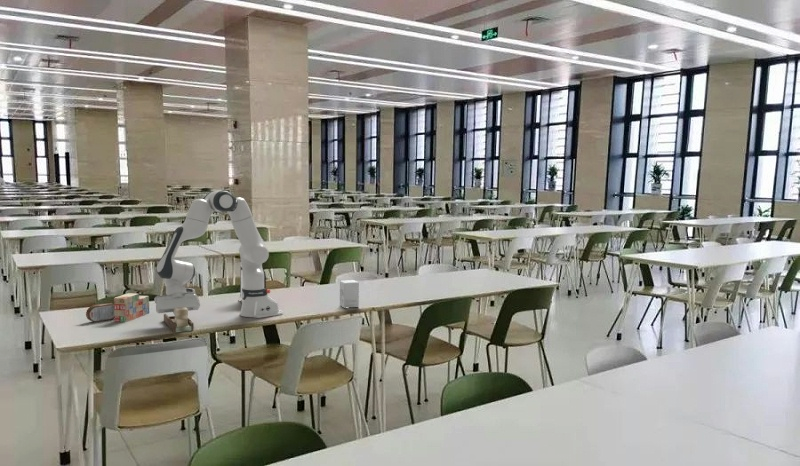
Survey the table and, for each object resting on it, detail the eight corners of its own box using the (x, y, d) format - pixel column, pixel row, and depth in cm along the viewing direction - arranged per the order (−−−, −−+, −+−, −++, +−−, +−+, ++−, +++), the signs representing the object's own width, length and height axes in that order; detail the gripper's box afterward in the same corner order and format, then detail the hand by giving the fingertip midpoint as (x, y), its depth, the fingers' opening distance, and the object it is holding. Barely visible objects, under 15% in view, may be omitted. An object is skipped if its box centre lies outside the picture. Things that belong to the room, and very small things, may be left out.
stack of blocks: (138, 312, 320) (138, 289, 319) (149, 313, 319) (149, 290, 318) (114, 321, 299) (113, 297, 298) (125, 322, 298) (125, 298, 297)
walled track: (182, 319, 308) (182, 312, 307) (193, 330, 286) (193, 323, 286) (163, 320, 303) (163, 313, 303) (173, 332, 281) (173, 325, 281)
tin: (116, 317, 308) (116, 301, 307) (119, 318, 306) (119, 302, 305) (85, 322, 296) (85, 305, 295) (88, 323, 294) (88, 306, 293)
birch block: (185, 323, 290) (185, 307, 290) (187, 325, 286) (187, 309, 286) (174, 324, 288) (174, 308, 287) (176, 326, 284) (176, 310, 283)
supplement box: (354, 304, 352) (354, 279, 351) (358, 307, 344) (359, 282, 343) (339, 305, 349) (339, 280, 348) (343, 308, 341) (344, 282, 339)
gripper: (154, 292, 289) (158, 316, 282) (198, 289, 300) (202, 312, 293) (152, 299, 294) (156, 323, 286) (196, 296, 304) (200, 319, 297)
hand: (180, 317), depth 290 cm, fingers closed, pressing on birch block
